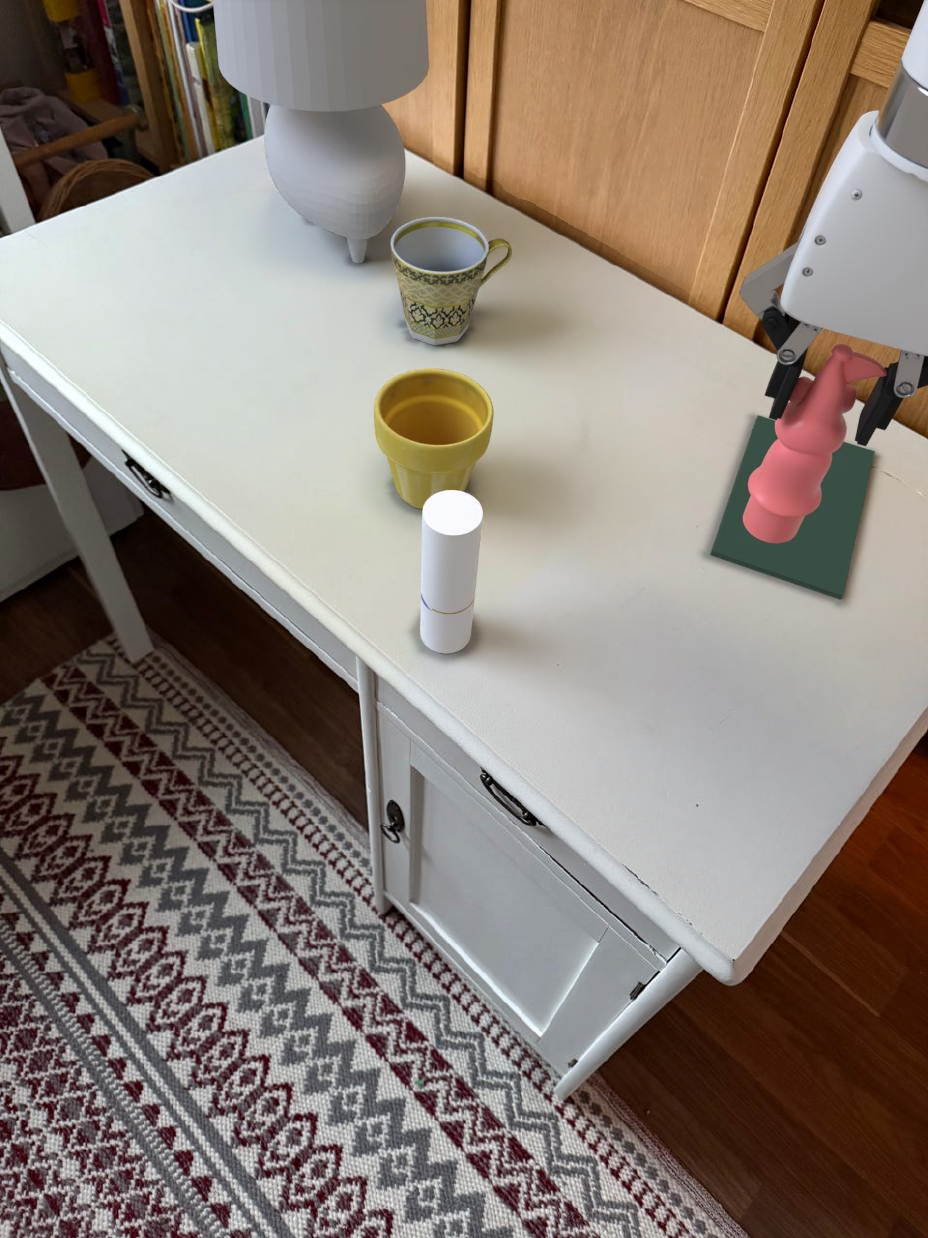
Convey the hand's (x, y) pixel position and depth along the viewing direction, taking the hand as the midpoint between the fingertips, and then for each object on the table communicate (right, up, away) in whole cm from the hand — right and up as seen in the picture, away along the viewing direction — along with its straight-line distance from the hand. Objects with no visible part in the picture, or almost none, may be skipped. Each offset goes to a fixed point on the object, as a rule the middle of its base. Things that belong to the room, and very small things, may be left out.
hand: (820, 415), depth 57 cm
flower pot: (-25, 0, +30) cm, 39 cm away
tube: (-24, -14, +20) cm, 34 cm away
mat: (+10, -1, +31) cm, 32 cm away
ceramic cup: (-24, +20, +44) cm, 54 cm away
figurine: (0, -6, +8) cm, 10 cm away
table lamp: (-37, +34, +53) cm, 73 cm away
